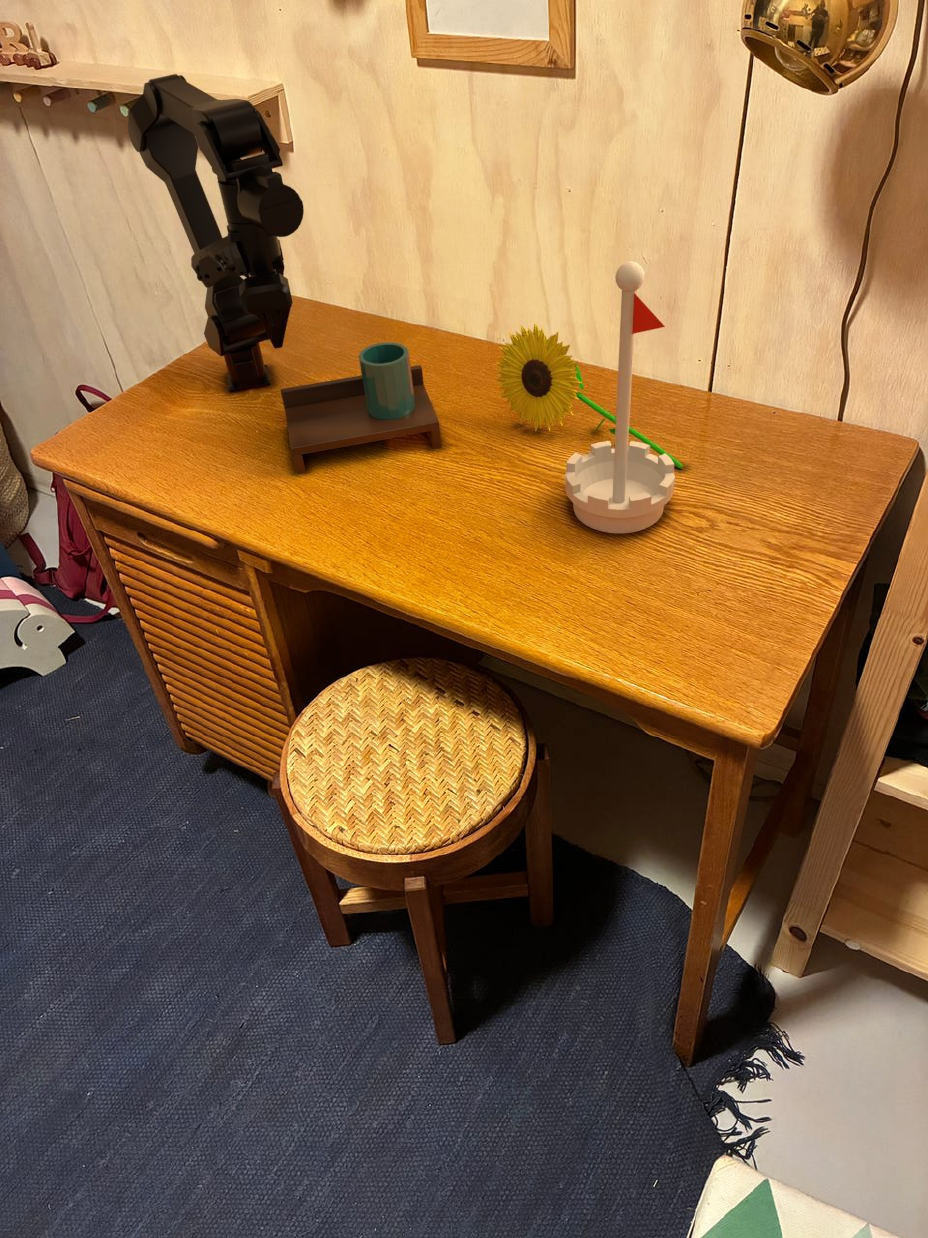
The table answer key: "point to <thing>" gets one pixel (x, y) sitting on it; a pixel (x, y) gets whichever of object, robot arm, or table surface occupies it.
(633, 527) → the flag stand
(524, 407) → the decorative plant
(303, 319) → the table surface
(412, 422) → the desk shelf
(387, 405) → the glazed pot
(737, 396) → the table surface
